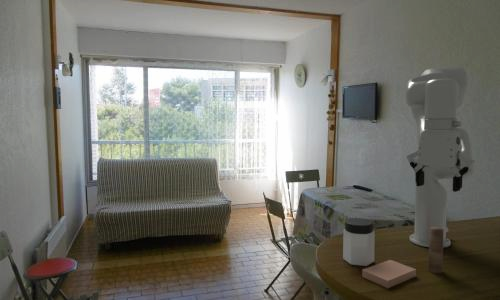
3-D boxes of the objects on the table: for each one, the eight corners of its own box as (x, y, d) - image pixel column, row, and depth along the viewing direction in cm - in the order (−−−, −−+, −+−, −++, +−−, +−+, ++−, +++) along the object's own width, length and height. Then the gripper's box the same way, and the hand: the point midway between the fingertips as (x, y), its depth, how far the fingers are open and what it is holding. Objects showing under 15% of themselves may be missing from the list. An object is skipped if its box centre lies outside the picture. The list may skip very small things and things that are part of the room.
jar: (379, 264, 105) (380, 224, 104) (354, 267, 103) (354, 226, 102) (362, 253, 113) (362, 216, 112) (339, 256, 111) (339, 218, 110)
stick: (431, 267, 102) (433, 226, 102) (444, 271, 100) (445, 228, 99) (426, 270, 100) (427, 228, 99) (438, 274, 98) (440, 231, 97)
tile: (390, 259, 103) (362, 269, 97) (416, 269, 97) (387, 280, 90) (389, 267, 104) (362, 278, 97) (415, 277, 97) (387, 290, 90)
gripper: (481, 125, 92) (478, 191, 94) (415, 124, 106) (413, 182, 108) (469, 126, 88) (466, 195, 89) (401, 125, 101) (400, 185, 103)
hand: (437, 188), depth 98 cm, fingers open, 9 cm apart
